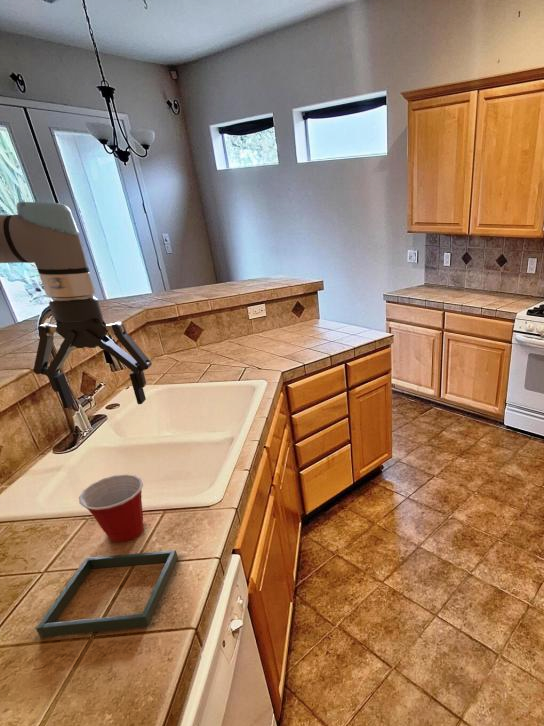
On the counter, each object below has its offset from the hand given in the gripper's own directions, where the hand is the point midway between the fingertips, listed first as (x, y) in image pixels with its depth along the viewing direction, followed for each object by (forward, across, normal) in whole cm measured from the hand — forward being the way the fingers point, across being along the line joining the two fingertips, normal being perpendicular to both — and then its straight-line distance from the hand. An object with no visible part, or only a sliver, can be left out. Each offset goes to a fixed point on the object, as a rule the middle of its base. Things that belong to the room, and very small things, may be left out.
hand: (106, 403), depth 89 cm
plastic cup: (+25, +2, -13) cm, 28 cm away
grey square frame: (+25, +6, -30) cm, 40 cm away
